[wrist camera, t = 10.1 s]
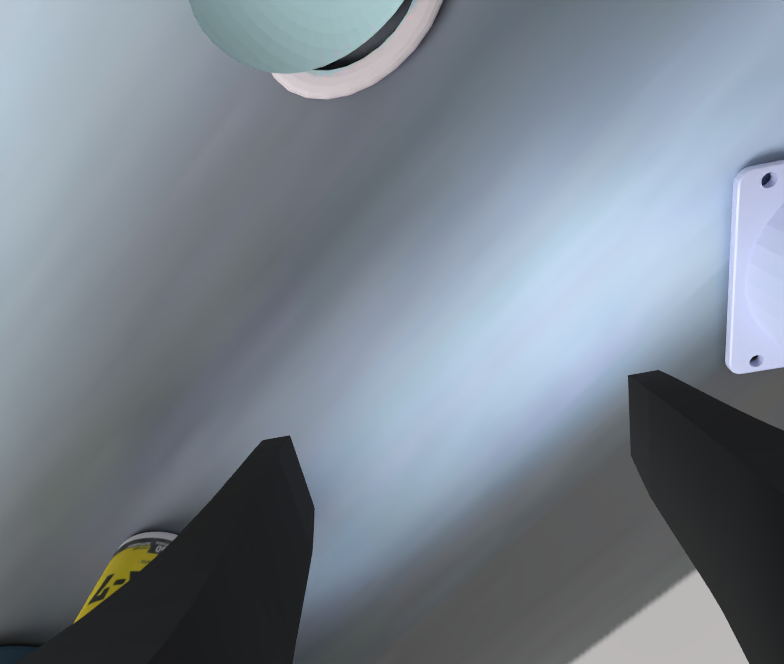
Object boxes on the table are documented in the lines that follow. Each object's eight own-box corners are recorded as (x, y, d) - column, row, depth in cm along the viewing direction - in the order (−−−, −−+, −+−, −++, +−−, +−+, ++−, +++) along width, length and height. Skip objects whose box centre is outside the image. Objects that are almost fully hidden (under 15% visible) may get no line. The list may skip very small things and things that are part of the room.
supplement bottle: (213, 532, 27) (140, 715, 20) (215, 602, 29) (150, 792, 22) (110, 523, 27) (-3, 703, 20) (120, 594, 29) (21, 782, 22)
